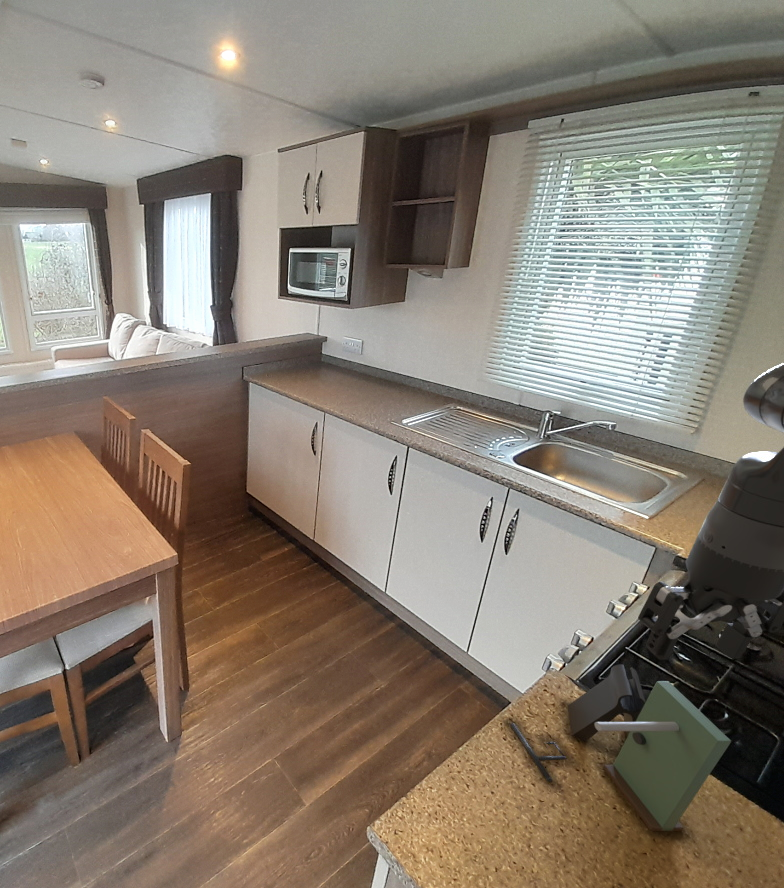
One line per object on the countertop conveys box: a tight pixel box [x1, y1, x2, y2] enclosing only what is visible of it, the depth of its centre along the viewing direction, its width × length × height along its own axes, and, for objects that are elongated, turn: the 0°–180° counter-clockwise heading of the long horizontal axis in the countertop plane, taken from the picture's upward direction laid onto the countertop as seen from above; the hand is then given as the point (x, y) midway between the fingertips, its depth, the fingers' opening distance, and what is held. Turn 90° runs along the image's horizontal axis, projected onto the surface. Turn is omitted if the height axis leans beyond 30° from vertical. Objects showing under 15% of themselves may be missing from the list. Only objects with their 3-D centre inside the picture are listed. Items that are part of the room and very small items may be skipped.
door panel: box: [595, 680, 732, 832], centre depth 61 cm, size 8×12×18 cm, turn 89°
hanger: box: [509, 722, 567, 783], centre depth 71 cm, size 9×1×5 cm
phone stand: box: [567, 664, 647, 742], centre depth 71 cm, size 9×6×12 cm, turn 58°
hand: (691, 653), depth 59 cm, fingers open, 8 cm apart
